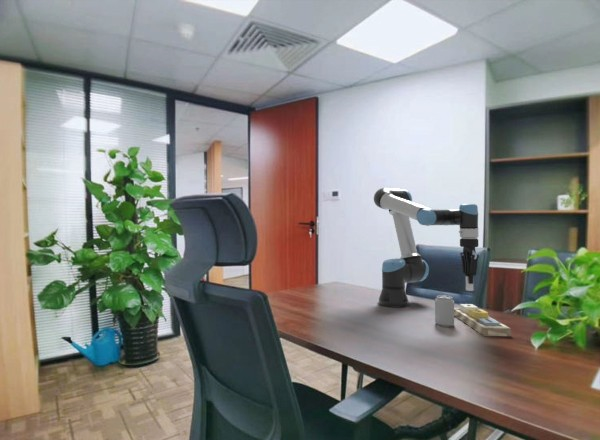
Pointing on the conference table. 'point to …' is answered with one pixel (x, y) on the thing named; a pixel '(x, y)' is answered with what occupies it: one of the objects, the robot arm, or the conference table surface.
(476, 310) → the tile
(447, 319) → the can
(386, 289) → the robot arm
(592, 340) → the conference table surface
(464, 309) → the tile
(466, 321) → the frame
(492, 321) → the tile
